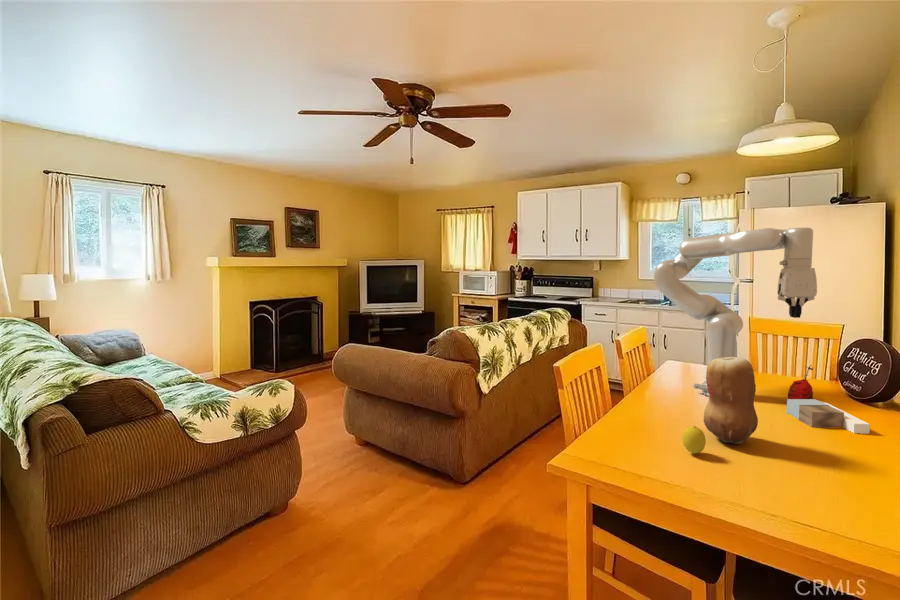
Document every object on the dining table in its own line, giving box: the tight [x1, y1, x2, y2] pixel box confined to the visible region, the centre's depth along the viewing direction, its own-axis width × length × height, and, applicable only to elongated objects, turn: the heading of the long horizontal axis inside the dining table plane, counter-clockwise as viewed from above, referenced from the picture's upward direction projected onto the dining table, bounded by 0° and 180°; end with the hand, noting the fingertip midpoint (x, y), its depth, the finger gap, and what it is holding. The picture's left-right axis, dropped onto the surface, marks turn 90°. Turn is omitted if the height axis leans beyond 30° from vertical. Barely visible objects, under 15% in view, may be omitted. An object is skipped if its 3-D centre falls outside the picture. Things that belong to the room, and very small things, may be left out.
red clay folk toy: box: [786, 364, 814, 399], centre depth 157 cm, size 8×7×15 cm
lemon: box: [682, 425, 707, 455], centre depth 120 cm, size 6×6×8 cm
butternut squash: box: [702, 357, 759, 445], centre depth 127 cm, size 14×13×25 cm
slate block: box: [786, 398, 829, 420], centre depth 146 cm, size 9×6×5 cm, turn 85°
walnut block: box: [798, 406, 845, 428], centre depth 139 cm, size 9×6×5 cm, turn 83°
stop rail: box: [822, 401, 871, 435], centre depth 141 cm, size 4×20×3 cm, turn 169°
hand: (795, 317), depth 152 cm, fingers closed
